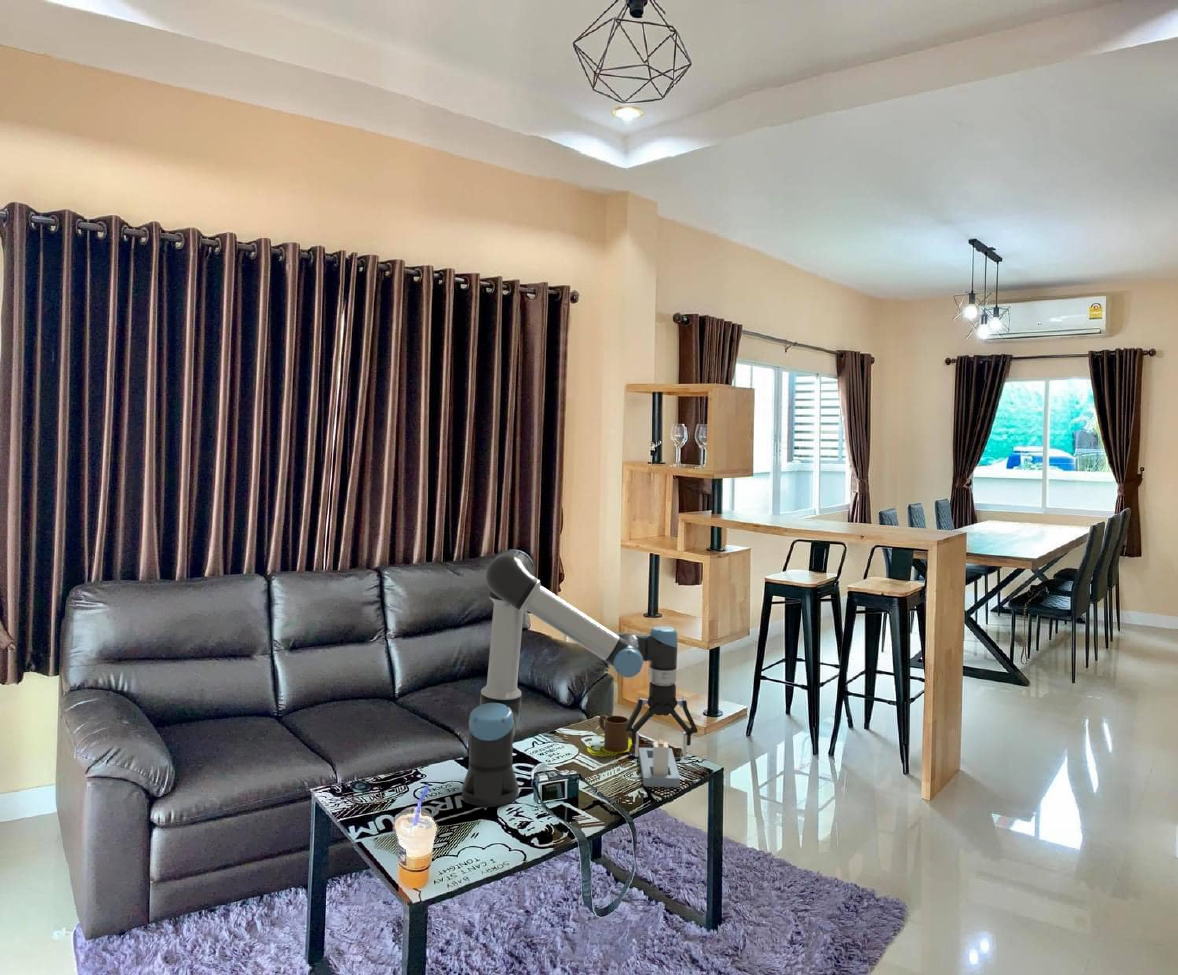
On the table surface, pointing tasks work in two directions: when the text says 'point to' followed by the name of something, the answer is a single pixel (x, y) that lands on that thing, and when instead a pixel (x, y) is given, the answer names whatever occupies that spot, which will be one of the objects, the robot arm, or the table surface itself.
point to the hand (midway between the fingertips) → (660, 755)
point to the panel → (658, 780)
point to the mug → (614, 732)
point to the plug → (660, 758)
